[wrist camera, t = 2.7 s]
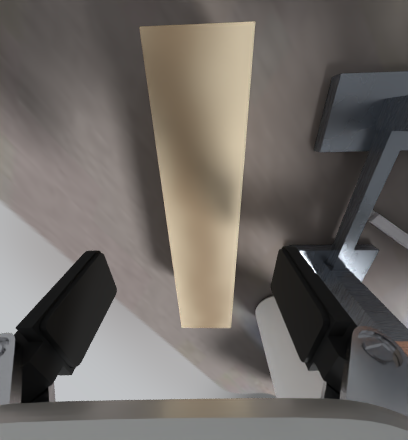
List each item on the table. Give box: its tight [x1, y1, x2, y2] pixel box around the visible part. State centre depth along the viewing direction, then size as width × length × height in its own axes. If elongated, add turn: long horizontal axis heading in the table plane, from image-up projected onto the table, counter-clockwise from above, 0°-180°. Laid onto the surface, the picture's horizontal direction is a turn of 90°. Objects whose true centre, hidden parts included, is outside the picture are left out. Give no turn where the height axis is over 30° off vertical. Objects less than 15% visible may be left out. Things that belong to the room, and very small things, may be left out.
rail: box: [139, 22, 255, 328], centre depth 15 cm, size 5×22×6 cm, turn 1°
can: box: [255, 295, 324, 398], centre depth 20 cm, size 6×6×12 cm
